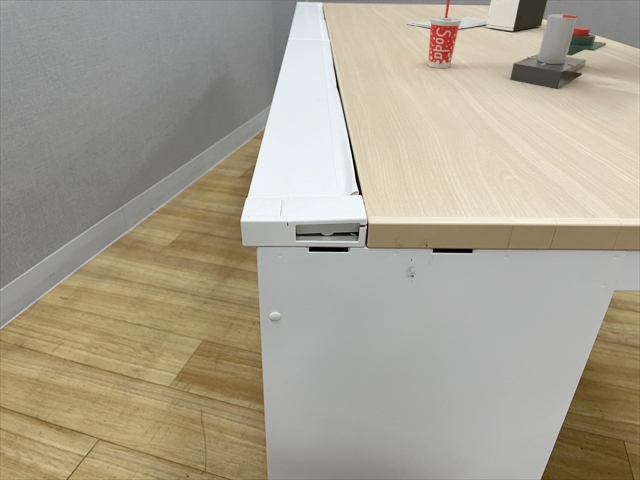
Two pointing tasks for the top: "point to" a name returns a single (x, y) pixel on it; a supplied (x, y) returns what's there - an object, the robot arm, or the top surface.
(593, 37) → the button box
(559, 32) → the light grey cylinder
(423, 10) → the top surface
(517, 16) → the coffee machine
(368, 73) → the top surface
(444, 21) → the beverage cup
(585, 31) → the stop button
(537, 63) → the tap block
